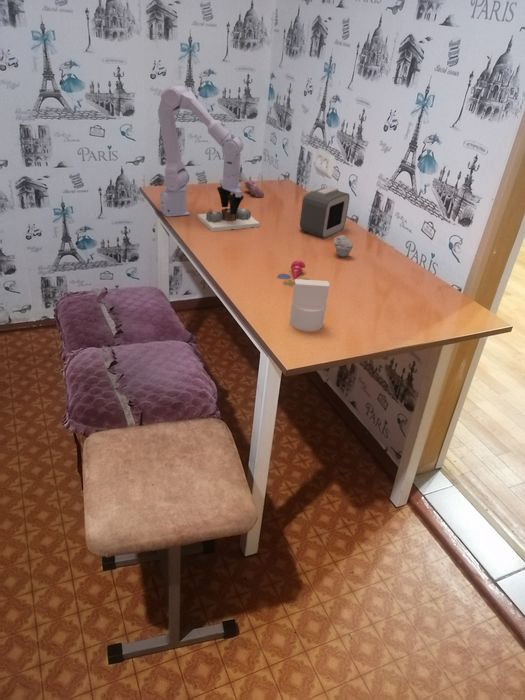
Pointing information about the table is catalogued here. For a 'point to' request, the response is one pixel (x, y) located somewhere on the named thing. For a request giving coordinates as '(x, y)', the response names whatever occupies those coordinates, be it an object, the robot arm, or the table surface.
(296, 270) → the toy pieces
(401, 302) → the table surface
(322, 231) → the alarm clock
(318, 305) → the cylinder with rectangular tab
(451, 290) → the table surface
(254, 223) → the gear board
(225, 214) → the walnut gear
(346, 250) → the grey muffin
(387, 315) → the table surface
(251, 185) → the pink irregular piece
